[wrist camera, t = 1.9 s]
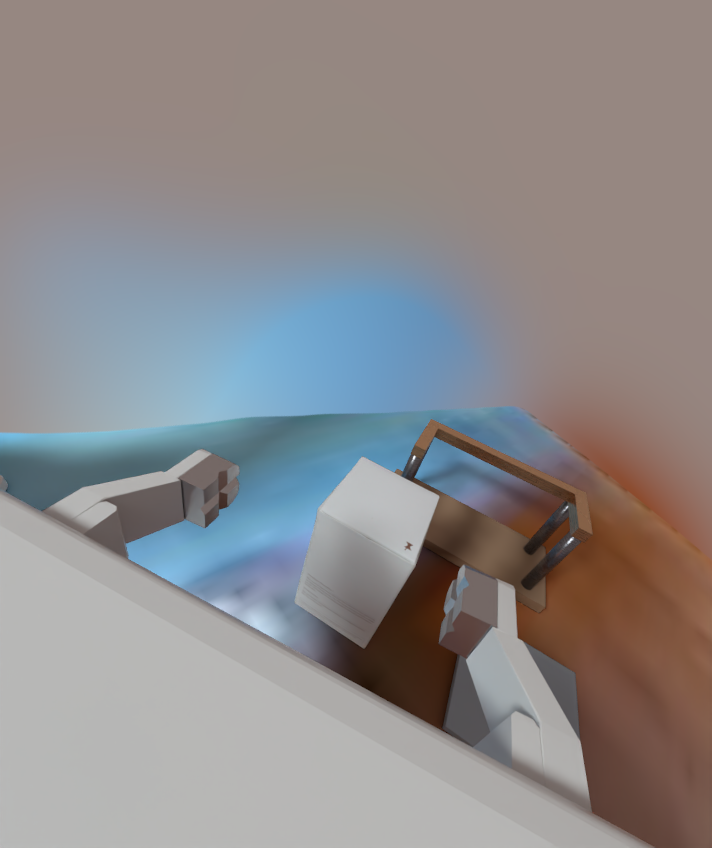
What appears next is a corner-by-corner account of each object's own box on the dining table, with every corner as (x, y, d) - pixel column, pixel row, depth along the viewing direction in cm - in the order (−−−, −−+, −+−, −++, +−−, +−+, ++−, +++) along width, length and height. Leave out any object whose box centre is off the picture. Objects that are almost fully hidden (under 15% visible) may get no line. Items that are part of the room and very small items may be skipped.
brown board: (369, 514, 40) (371, 508, 39) (394, 474, 47) (397, 468, 46) (539, 613, 35) (545, 607, 34) (540, 552, 42) (545, 547, 41)
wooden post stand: (385, 509, 40) (414, 445, 34) (403, 479, 44) (431, 418, 39) (532, 592, 35) (592, 534, 30) (533, 549, 40) (586, 492, 35)
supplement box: (394, 581, 34) (444, 496, 27) (363, 652, 28) (417, 568, 21) (331, 542, 36) (363, 452, 29) (290, 601, 30) (316, 508, 23)
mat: (442, 728, 25) (445, 726, 25) (466, 611, 33) (469, 608, 33) (580, 826, 23) (585, 825, 23) (571, 675, 31) (575, 672, 30)
